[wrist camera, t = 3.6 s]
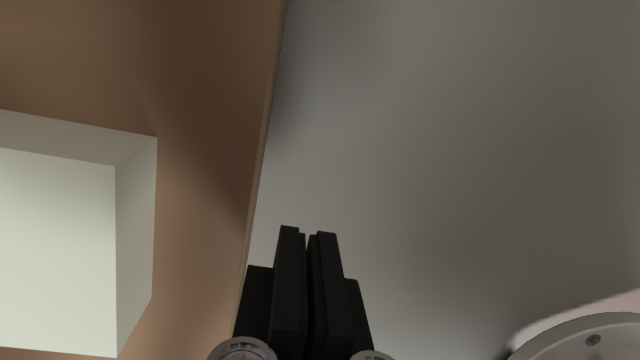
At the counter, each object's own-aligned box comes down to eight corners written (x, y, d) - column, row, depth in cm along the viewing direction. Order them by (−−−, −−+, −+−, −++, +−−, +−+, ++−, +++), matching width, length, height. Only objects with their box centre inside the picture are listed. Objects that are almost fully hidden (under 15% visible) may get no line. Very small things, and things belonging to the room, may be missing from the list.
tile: (157, 137, 10) (114, 166, 8) (151, 297, 12) (116, 358, 10) (-72, 96, 9) (-195, 114, 7) (-35, 274, 12) (-120, 334, 9)
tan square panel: (289, -9, 13) (283, -31, 9) (237, 319, 19) (219, 400, 14) (-214, -131, 11) (-537, -238, 7) (-97, 279, 17) (-230, 360, 12)
